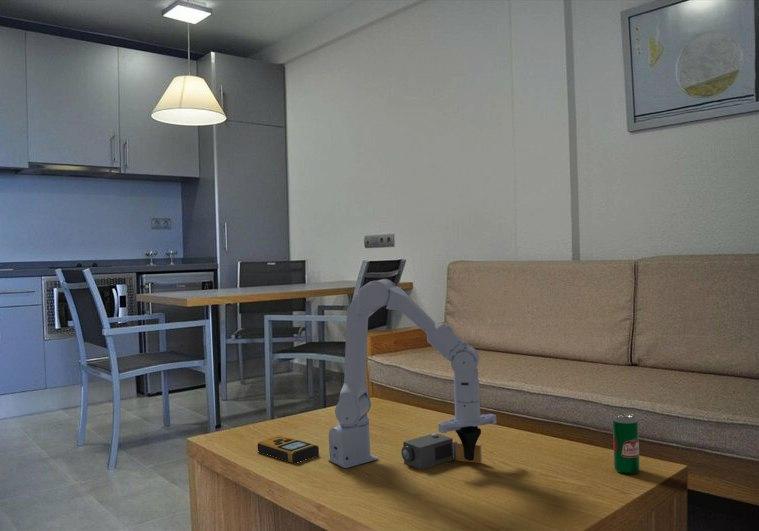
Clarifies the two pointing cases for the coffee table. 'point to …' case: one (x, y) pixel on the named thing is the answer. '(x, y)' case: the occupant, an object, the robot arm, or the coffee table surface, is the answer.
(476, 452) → the side door
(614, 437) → the soda can
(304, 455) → the electronic device
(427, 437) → the camera body
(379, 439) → the coffee table surface
